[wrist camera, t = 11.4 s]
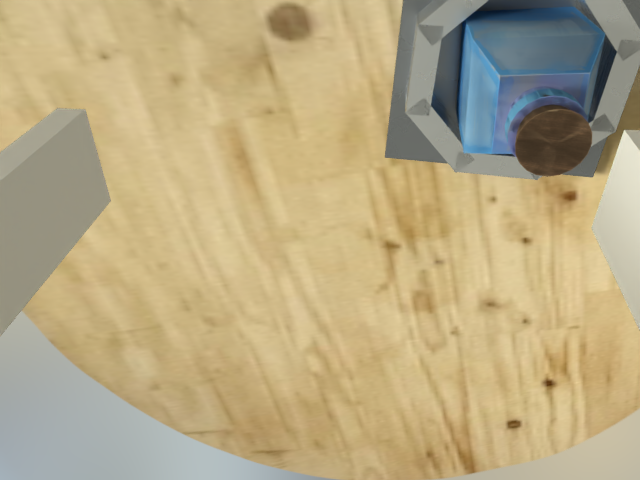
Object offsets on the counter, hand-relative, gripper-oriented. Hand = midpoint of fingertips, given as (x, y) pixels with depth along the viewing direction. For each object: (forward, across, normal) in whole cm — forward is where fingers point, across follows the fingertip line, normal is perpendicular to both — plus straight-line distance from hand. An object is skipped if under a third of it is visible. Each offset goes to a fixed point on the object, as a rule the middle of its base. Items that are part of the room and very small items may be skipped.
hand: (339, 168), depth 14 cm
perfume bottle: (+23, +8, -4) cm, 25 cm away
